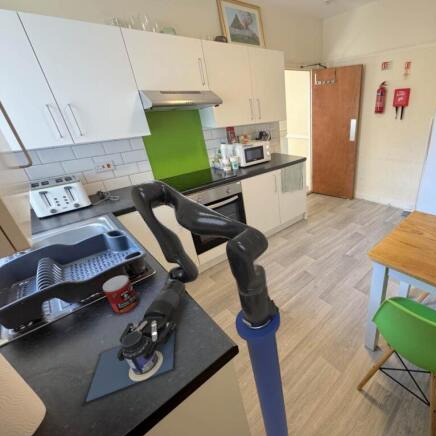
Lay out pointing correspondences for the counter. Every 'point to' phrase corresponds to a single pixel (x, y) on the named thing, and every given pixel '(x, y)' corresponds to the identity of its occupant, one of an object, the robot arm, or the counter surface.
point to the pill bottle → (138, 352)
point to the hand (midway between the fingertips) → (132, 358)
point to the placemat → (127, 370)
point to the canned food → (120, 294)
